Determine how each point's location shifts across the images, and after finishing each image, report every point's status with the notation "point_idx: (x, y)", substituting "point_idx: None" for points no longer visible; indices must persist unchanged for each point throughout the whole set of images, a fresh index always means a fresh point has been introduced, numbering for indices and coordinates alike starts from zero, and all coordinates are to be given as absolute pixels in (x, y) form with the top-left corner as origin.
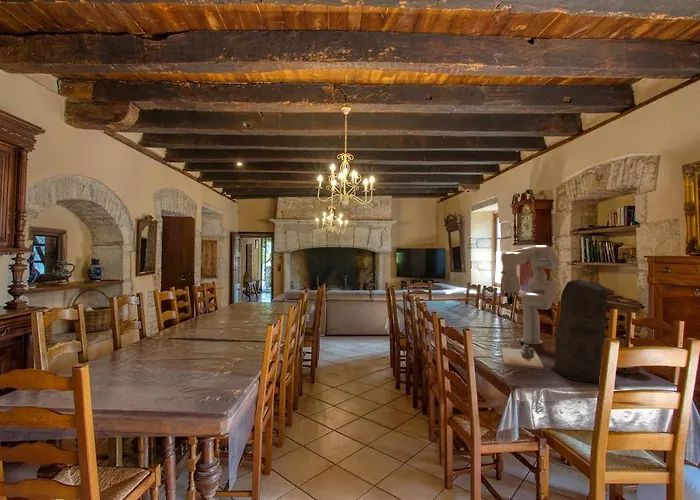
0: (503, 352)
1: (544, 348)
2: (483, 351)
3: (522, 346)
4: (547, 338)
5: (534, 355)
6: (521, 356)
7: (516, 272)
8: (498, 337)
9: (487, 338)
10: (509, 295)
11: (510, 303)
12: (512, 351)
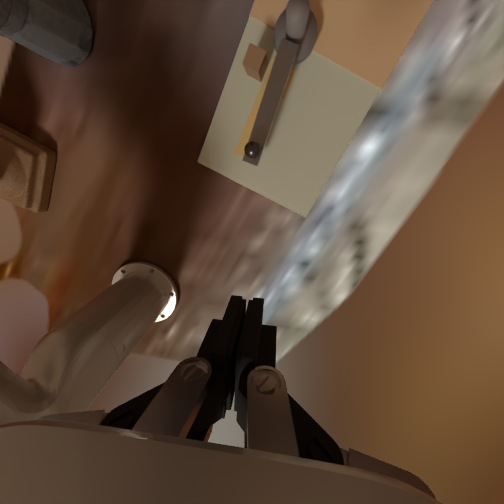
0: (344, 142)
1: (139, 209)
2: (396, 197)
3: (273, 108)
4: None
5: (241, 75)
6: (307, 63)
7: None
8: None
9: None
10: (257, 398)
11: (258, 300)
12: (295, 155)
